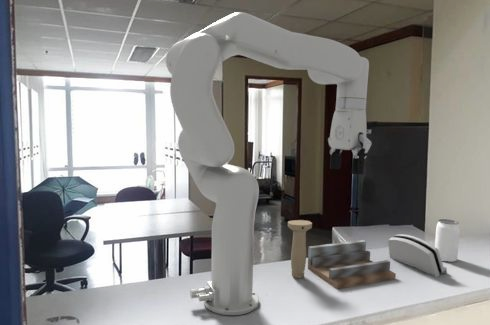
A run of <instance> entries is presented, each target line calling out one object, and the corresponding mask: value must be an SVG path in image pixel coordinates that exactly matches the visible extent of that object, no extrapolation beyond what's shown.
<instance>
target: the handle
mask: <svg viewBox="0 0 490 325" xmlns="http://www.w3.org/2000/svg"><path fill="white" fill-rule="evenodd" d="M287 227H288V228H289V229H290V230H291V231H292V245H291V254H290V266H291V267H290V268H291V276H292V277H293V278H294V279H301V278H304V277H305V268H306V264H307V247H306V246H307V244H306V242H307V236H306V235H307V232H308V231H309V230H311V229H312V227H313V222H311V221H310V220H304V219H297V220H296V219H295V220H288V221H287Z"/></svg>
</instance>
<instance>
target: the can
mask: <svg viewBox="0 0 490 325" xmlns="http://www.w3.org/2000/svg"><path fill="white" fill-rule="evenodd" d="M435 228H436V229H435V240H434V247H436V248H437V249H438V250H439V253H440V257H441V260H443V261H442V262H444V261H448V262H447V263H455V262H456V261H458V254H459V244H460V230H461V227H460V223H459V221H456V220H453V219H449V218H448V219H447V218H446V219H445V218H440V219H438V222H437V223H436V227H435ZM454 261H455V262H454Z"/></svg>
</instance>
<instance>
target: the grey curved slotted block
mask: <svg viewBox="0 0 490 325" xmlns="http://www.w3.org/2000/svg"><path fill="white" fill-rule="evenodd" d="M387 243H388V244H387V245H388V254H389V258H391V259H392V260H395V261H398V262H400V263H402V262H403V263H402V264H405V265H407V264H408V266H409V265H411V266H410V267H412V266H413V267H412V268H414V267H416V268H415V269H417V268H418V269H417V270H419V269H420V270H419V271H422V270H423V271H422V272H424V271H425V272H424V273H426V272H428V273H427V274H429V273H430V274H429V275H431V274H432V276H434V277H440V273H442V274H443V272H444V274H446V273H447V274H448V270H447V267H446V266H444V264H443V261H442V260H441V257H440V253H439V250H438V249H437V248H436V247H435V245H433V244H431V243H430V242H427V241H426V240H424V239H422V238H419V237H416V236H413V235H409V234H402V233H401V234H395V235H393V237H390V238H388V241H387Z"/></svg>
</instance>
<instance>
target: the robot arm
mask: <svg viewBox="0 0 490 325" xmlns="http://www.w3.org/2000/svg"><path fill="white" fill-rule="evenodd" d="M236 56H243V57H246V58H248V59H252V60H254V61H256V62H260V63H261V64H265V65H268V66H270V67H273V68H276V69H279V70H280V69H281V70H289V71H290V70H292V71H293V70H296V71H298V70H299V71H301V70H303V71H306V70H307V75H308V77H309V78H310V79H311V81H312V82H314V83H316V84H319V85H336V86H337V87H336V101H335V110H334V113H333V116H332V120H331V126H330V133H329V137H328V138H327V142H328V149H329V154H330V160H329V169H330V170H341V169H342V152H343V150H344V151H350V150H351V152H352V155H353V157H352V159H351V160H352V161H351V163H352V164H351V175H363V174H364V170H365V159H367V155H368V154H369V152H370V148H371V146H372V141H371V140H370V139H369V138H368V137H367V113H366V112H367V111H366V110H367V109H366V108H367V94H368V81H369V80H368V79H369V70H370V62H369V59H368V58H366V57H364V56H360V54H359V52H358V51H357V50H355V49H353V48H352V47H350V46H349V45H346V44H344V43H342V42H339V41H336V40H334V39H331V38H326V37H321V36H317V35H311V34H310V35H309V34H305V33H299V32H295V31H294V32H293V31H290V30H288V29H285V28H283V27H281V26H278V25H276V24H273V23H271V22H269V21H266V20H264V19H262V18H259V17H257V16H255V15H253V14H249V13H247V12H242V11H238V12H237V11H236V12H234V13H230V14H229V15H227V16H225V17H223V18H221V19H219V20H217V21H216V22H213V23H212V24H210V25H207V27H205V28H204V29H201V30H200V31H198V32H195V33H193V34H191V35H190V36H188V37H186V38H184V39H182V40H179V41H178V42H176V43H174V44H172V46H170V48H168V51H167V53H166V57H165V65H166V68H167V70H168V72H169V74H170V75H171V79H170V84H169V85H170V89H169V92H170V100H171V104H172V107H173V108H172V109H173V111H174V113H175V115H176V117H177V120H178V122H179V124H180V127H181V128H182V130H181V131H180V133H179V136H178V139H177V140H178V141H177V145H178V151H179V154H180V156H181V159H182V161H183V162H184V164H185V166H186V168H187V170H188V172H189V175H190V177H192V180H193V182H194V184H195V185H196V187H197V189H198V190H199V192H200V193H201V195H202V196H204V197H205V199H207V200H209V201H212V202H213V203H215V209H214V213H213V218H212V223H211V256H210V257H211V262H210V263H211V268H210V269H211V274H210V276H211V278H210V280H209V281H208V280H207V282H206V283H207V284H206V286H205V285H204V286H203V287H202V288H193V289H190V290H189V292H190V293H189V295H190V296H189V297H190V299H198V301H199V302H203V304H204V306H205V307H206V308H207V309H208V310H209V311H211V312H213V313H215V314H218V315H224V316H240V315H244V314H248V313H250V312H253V311H254V310H256V309H257V307H258V306H259V304H260V298H259V295H258V293H256V291H254V290H253V282H254V281H253V278H254V243H255V241H254V239H255V237H254V236H255V235H254V234H255V232H254V231H255V220H256V219H255V216H256V209H257V205H258V202H259V194H260V188H259V187H260V186H259V182H258V180H257V178H256V177H255V175H254V174H253V173H252V172H251V171H249V170H248V169H246V168H243V167H241V166H237V165H233V164H229V163H230V161H231V160H233V158H234V154H235V143H234V140H233V138H232V135H231V132H230V131H229V129H228V126H227V125H226V124H227V123H226V122H225V120H224V119H223V116H222V113H221V112H220V109H219V107H218V105H217V102H216V99H215V96H214V91H213V86H214V85H213V84H214V78H215V76H216V73H217V71H218V69H219V67H220V65H221V63H223V62H225V61H226V60H228V59H229V58H231V57H236Z"/></svg>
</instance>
